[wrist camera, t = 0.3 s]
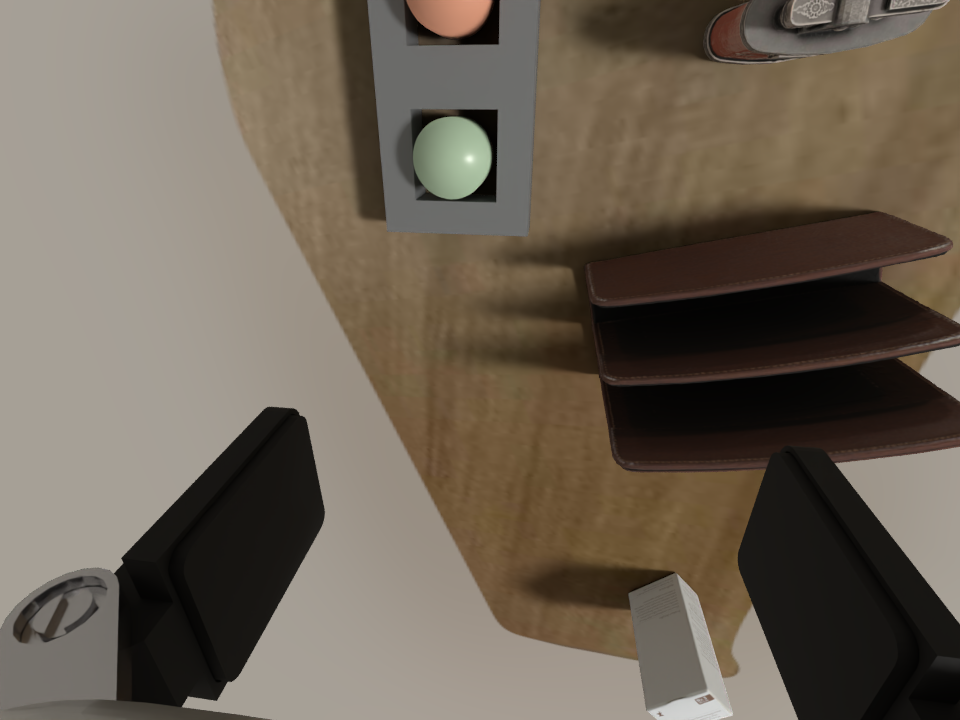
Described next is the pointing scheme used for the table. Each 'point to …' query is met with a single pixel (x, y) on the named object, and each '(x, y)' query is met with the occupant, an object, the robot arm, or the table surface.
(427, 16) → the terracotta button
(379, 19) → the button panel
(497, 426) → the table surface
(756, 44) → the lighter
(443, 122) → the sage button
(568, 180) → the table surface
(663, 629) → the skincare box
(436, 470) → the table surface
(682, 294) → the letter holder
